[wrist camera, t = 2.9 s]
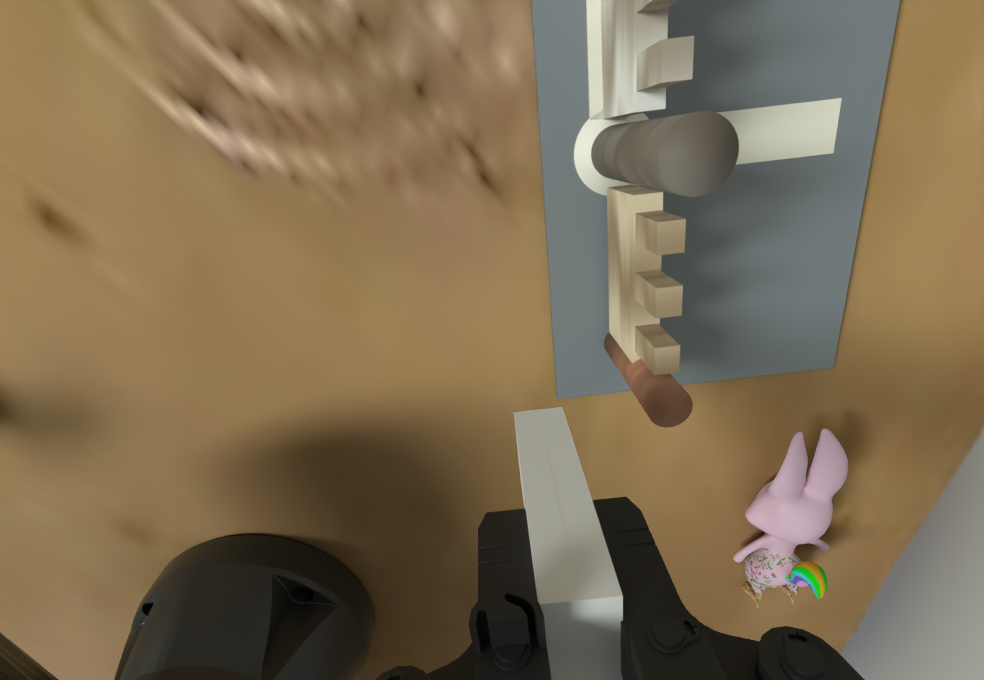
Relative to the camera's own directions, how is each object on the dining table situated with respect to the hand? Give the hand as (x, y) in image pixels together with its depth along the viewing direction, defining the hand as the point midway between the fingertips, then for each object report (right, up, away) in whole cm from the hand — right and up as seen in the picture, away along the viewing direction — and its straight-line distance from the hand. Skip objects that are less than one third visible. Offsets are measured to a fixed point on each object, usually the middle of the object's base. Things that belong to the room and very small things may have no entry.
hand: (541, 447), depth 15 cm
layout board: (+9, +12, +8) cm, 17 cm away
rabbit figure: (+17, -7, +17) cm, 25 cm away
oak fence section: (+5, +7, +9) cm, 13 cm away
